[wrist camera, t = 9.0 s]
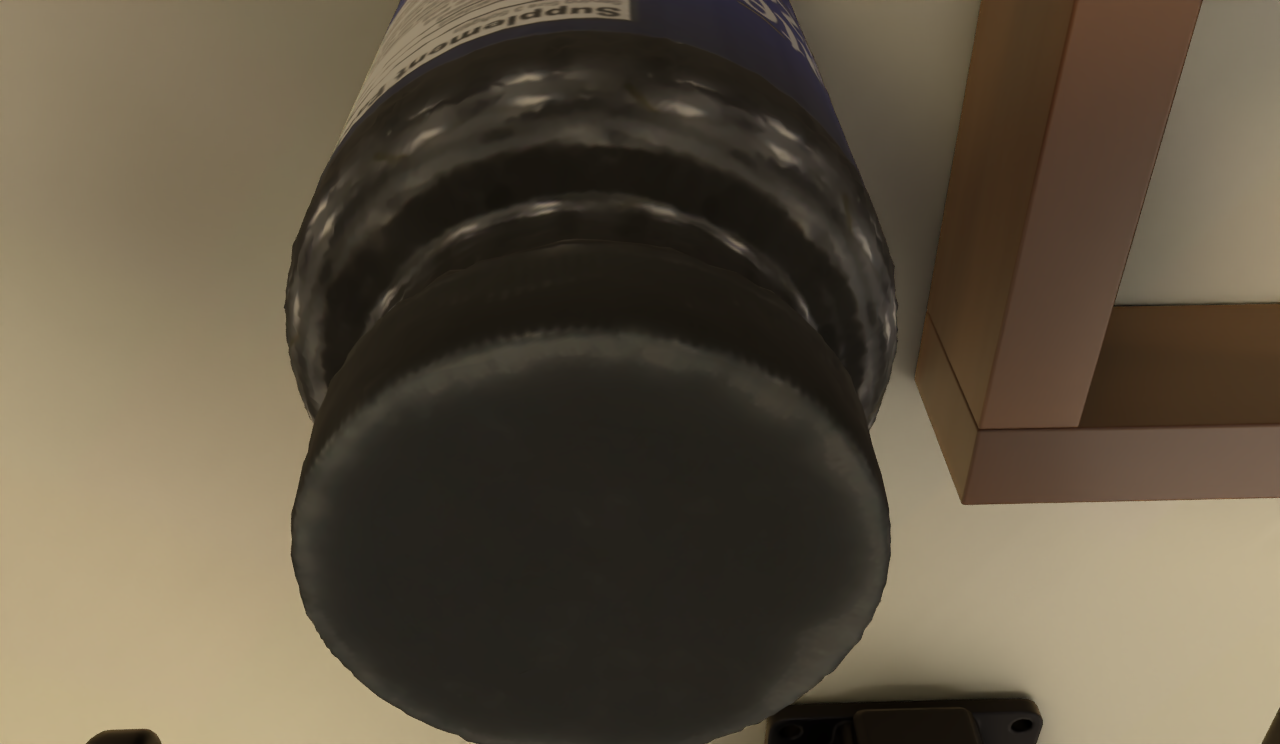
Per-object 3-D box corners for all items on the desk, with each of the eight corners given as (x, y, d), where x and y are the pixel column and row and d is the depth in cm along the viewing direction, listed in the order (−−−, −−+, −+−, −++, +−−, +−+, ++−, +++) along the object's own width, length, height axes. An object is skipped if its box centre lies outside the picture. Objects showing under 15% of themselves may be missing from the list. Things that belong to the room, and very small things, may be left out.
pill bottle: (837, 160, 19) (1055, 716, 10) (503, 281, 20) (431, 876, 11) (714, -227, 15) (878, 98, 7) (319, -53, 17) (2, 422, 8)
